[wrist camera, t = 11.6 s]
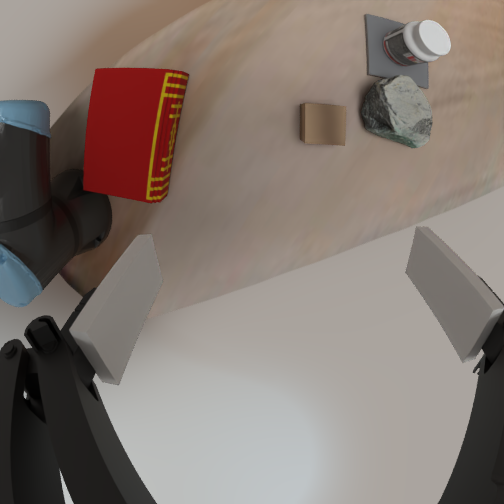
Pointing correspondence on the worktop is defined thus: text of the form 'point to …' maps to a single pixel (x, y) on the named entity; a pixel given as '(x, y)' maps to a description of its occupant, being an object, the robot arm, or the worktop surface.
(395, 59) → the pill bottle
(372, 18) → the coaster
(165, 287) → the worktop surface
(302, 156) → the worktop surface
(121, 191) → the book
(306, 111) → the walnut block
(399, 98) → the stone
